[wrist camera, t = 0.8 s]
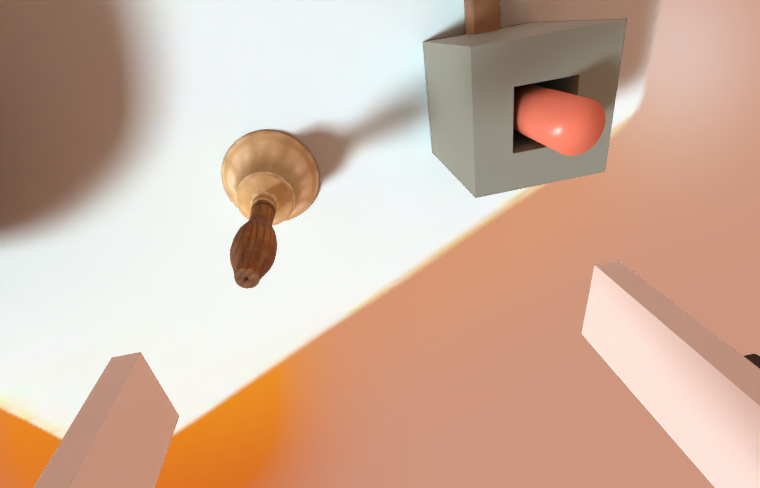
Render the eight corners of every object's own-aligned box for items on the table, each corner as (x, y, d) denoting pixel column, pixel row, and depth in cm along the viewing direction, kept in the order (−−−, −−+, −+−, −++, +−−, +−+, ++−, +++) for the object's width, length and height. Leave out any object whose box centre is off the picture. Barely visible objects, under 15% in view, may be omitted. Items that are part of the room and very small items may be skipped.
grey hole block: (422, 41, 31) (470, 46, 21) (536, 21, 31) (633, 17, 22) (432, 152, 35) (475, 197, 26) (531, 133, 36) (610, 170, 26)
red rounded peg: (491, 85, 27) (553, 104, 20) (533, 77, 27) (609, 93, 20) (492, 128, 28) (549, 160, 21) (531, 121, 28) (601, 150, 21)
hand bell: (319, 131, 33) (321, 204, 19) (319, 220, 37) (321, 334, 23) (215, 128, 32) (138, 203, 18) (227, 220, 36) (171, 341, 22)
